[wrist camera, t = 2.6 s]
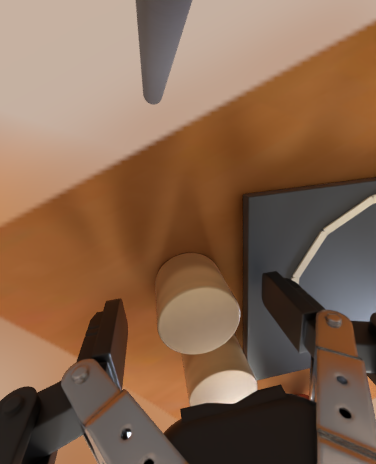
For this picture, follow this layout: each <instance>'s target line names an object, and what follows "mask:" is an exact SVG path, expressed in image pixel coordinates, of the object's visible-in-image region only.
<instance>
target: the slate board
mask: <svg viewBox="0 0 376 464" xmlns="http://www.w3.org/2000/svg"><path fill="white" fill-rule="evenodd" d="M273 271H277V272H278V273H279V274H280V275H281V276H283V277H284V278H288V279H291V280H293V281H295V282H296V283H297V284H299V285H300V286H301V287H302V289H304V290H305V291H306V292H307V293H308V294H310V295H311V296H312V297H313V298H314V299H315V300H316V301H317V302H318V303H320V304H321V305H322V306H323V307H324V308H325V309H326V310H333V311H337V312H340V313H342V314H344V315H345V316H347V317H348V318H349V319H350V320H351V321H368V322H369V321H370V316H371V315H372V314H373V313H376V177H374V178H366V179H358V180H351V181H343V182H335V183H327V184H319V185H312V186H304V187H296V188H288V189H280V190H273V191H265V192H257V193H249V194H243V353H244V355H245V357H246V359H247V361H248V363H249V366H250V368H251V370H252V372H253V374H254V376H255V379H256V380H261V379H265V378H269V377H274V376H278V375H282V374H287V373H291V372H295V371H299V370H304V369H308V368H310V359H311V354H310V353H309V352H303V353H299V352H298V351H297V350H296V348H295V347H294V346H293V344H292V343H291V341H290V340H289V339H288V337H287V336H286V335H285V333H284V332H283V331H282V329H281V328H280V327H279V325H278V324H277V322H276V321H275V320H274V318H273V317H272V316H271V314H270V313H269V312H268V310H267V309H266V308H265V306H264V304H263V301H262V296H261V293H262V274H263V273H267V272H273Z"/></svg>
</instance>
